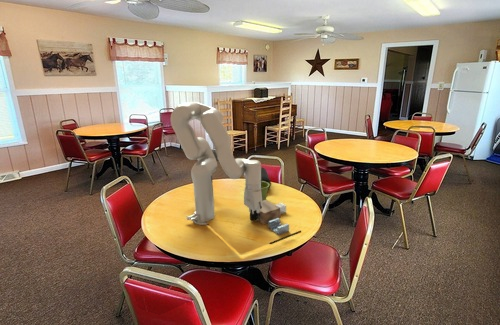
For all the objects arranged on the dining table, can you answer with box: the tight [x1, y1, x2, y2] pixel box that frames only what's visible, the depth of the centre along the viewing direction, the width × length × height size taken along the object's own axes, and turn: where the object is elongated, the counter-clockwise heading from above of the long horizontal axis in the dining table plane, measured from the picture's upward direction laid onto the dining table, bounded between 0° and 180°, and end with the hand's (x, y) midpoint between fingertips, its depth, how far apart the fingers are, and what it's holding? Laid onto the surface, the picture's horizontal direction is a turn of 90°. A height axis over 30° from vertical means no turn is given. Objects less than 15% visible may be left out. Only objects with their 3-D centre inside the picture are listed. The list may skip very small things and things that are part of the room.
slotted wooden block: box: [249, 199, 281, 226], centre depth 147 cm, size 10×12×8 cm
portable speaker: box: [261, 166, 272, 190], centre depth 193 cm, size 26×10×10 cm, turn 3°
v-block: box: [267, 218, 302, 245], centre depth 136 cm, size 18×12×5 cm, turn 124°
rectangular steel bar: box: [255, 202, 287, 223], centre depth 149 cm, size 18×4×4 cm, turn 123°
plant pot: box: [261, 181, 270, 201], centre depth 167 cm, size 12×12×11 cm
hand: (253, 219), depth 144 cm, fingers closed
